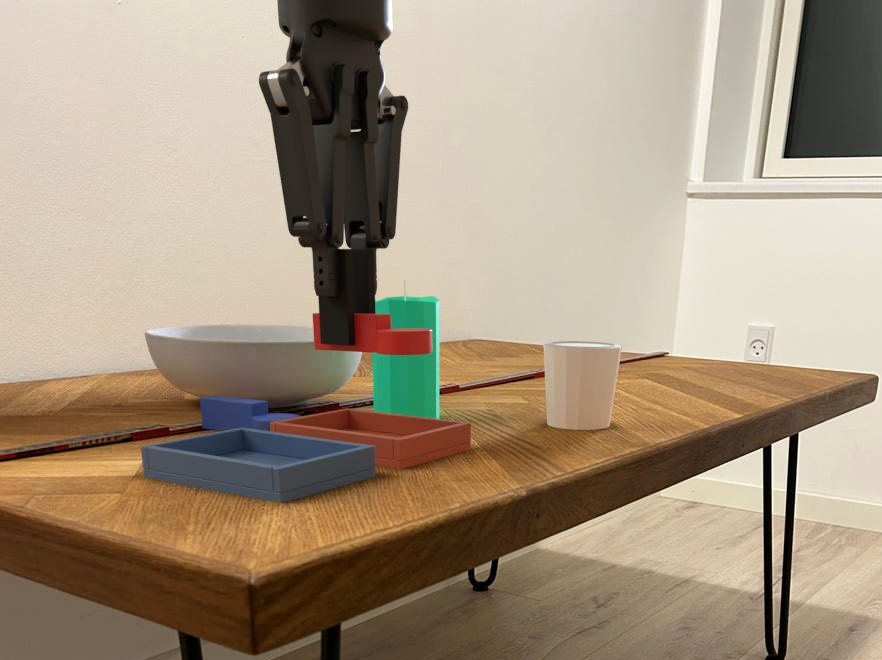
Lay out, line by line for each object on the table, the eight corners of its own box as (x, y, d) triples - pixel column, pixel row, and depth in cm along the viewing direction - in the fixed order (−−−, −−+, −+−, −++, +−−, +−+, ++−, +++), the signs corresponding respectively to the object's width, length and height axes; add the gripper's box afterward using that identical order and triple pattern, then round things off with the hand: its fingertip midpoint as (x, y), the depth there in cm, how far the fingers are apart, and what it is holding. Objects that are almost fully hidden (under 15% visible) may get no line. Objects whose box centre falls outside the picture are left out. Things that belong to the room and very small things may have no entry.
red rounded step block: (304, 350, 70) (301, 313, 69) (339, 347, 73) (337, 311, 73) (411, 356, 65) (409, 316, 64) (443, 352, 69) (442, 314, 68)
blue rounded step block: (192, 430, 79) (189, 398, 78) (227, 424, 83) (225, 393, 82) (279, 443, 75) (277, 409, 74) (312, 435, 78) (311, 403, 77)
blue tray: (143, 477, 62) (140, 445, 62) (244, 455, 70) (242, 427, 69) (281, 503, 56) (279, 468, 56) (376, 476, 64) (375, 445, 63)
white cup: (599, 434, 81) (604, 348, 78) (527, 426, 84) (530, 344, 81) (627, 423, 86) (633, 343, 84) (559, 416, 89) (563, 339, 87)
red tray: (271, 450, 72) (269, 422, 71) (348, 433, 79) (347, 408, 78) (400, 469, 66) (400, 439, 65) (470, 449, 73) (471, 422, 72)
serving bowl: (266, 426, 82) (260, 343, 79) (106, 405, 92) (97, 330, 89) (406, 399, 98) (405, 330, 96) (258, 384, 108) (254, 321, 106)
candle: (416, 412, 90) (415, 278, 86) (452, 421, 86) (453, 280, 81) (361, 417, 87) (357, 278, 82) (396, 427, 82) (393, 280, 78)
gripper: (300, -76, 54) (321, 353, 63) (444, -14, 66) (445, 339, 74) (207, -55, 58) (240, 347, 66) (359, -1, 69) (370, 335, 78)
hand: (348, 342), depth 70 cm, fingers closed on red rounded step block, 2 cm apart
